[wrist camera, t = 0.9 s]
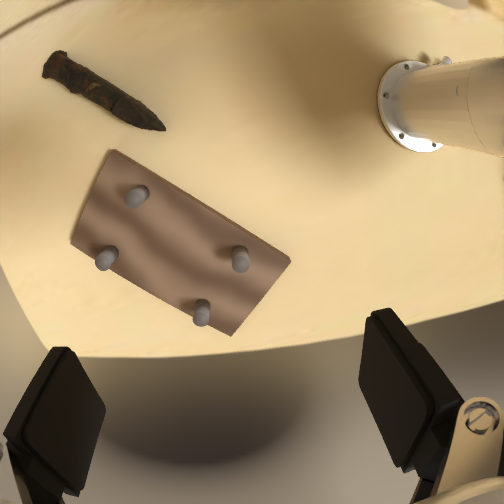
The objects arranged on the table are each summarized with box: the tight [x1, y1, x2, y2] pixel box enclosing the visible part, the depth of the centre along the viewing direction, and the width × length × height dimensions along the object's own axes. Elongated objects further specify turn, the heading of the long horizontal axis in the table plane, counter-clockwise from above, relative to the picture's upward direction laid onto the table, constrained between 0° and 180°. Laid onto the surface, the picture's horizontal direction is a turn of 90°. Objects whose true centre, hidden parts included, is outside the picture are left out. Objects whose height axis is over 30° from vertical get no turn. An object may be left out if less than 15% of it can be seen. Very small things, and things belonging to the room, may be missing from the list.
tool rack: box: [70, 150, 291, 336], centre depth 36 cm, size 14×26×5 cm, turn 56°
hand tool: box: [42, 50, 166, 131], centre depth 29 cm, size 19×4×5 cm, turn 51°
